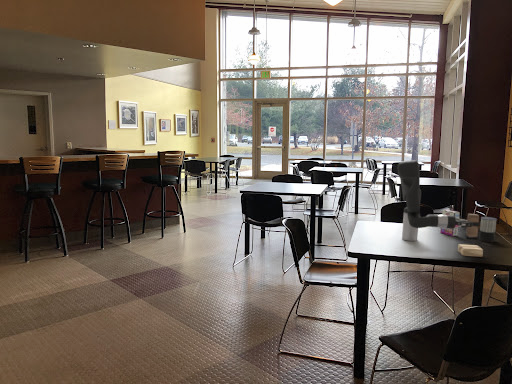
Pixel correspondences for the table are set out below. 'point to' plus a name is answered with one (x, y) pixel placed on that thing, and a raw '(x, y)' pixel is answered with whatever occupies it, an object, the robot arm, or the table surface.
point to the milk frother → (486, 229)
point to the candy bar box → (446, 230)
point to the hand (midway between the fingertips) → (477, 223)
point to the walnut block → (474, 229)
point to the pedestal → (470, 250)
